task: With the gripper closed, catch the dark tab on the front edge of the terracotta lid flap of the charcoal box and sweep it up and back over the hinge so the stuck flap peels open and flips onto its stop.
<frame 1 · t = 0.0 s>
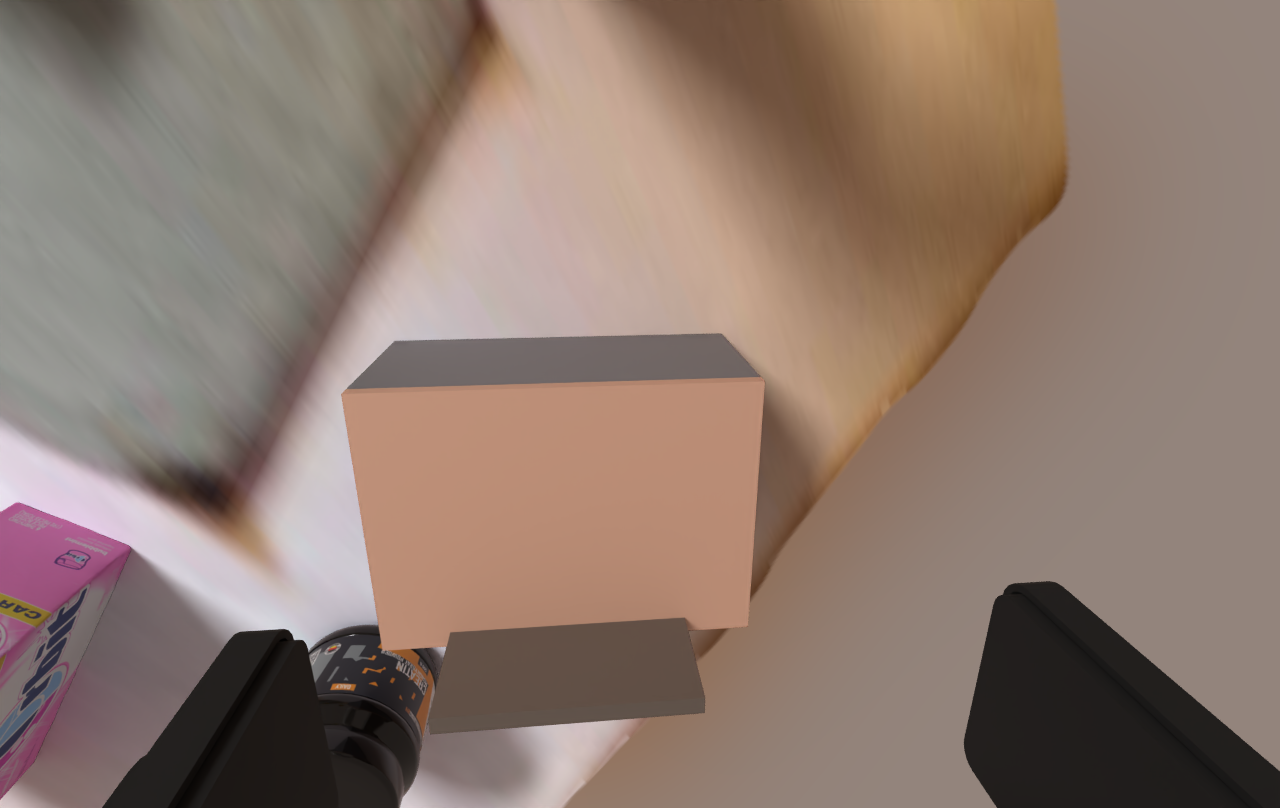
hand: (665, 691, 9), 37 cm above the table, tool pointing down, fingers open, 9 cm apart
supplement container: (373, 670, 52), on the table
carton: (566, 445, 47), on the table
gum box: (29, 638, 49), on the table
lid: (564, 549, 34), point 14 cm above the table, hinge at 0.0°
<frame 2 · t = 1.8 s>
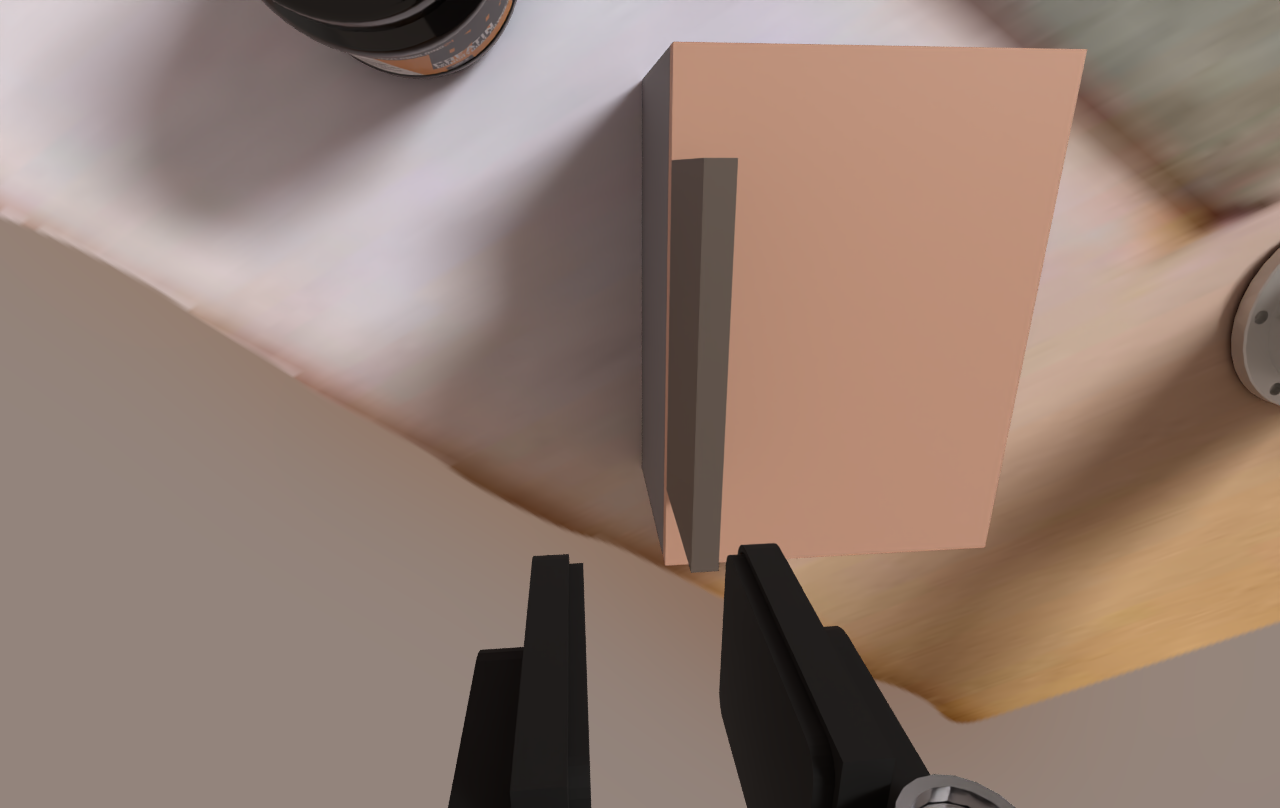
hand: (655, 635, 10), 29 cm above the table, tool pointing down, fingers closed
carton: (778, 290, 38), on the table
lid: (883, 352, 25), point 14 cm above the table, hinge at 0.0°
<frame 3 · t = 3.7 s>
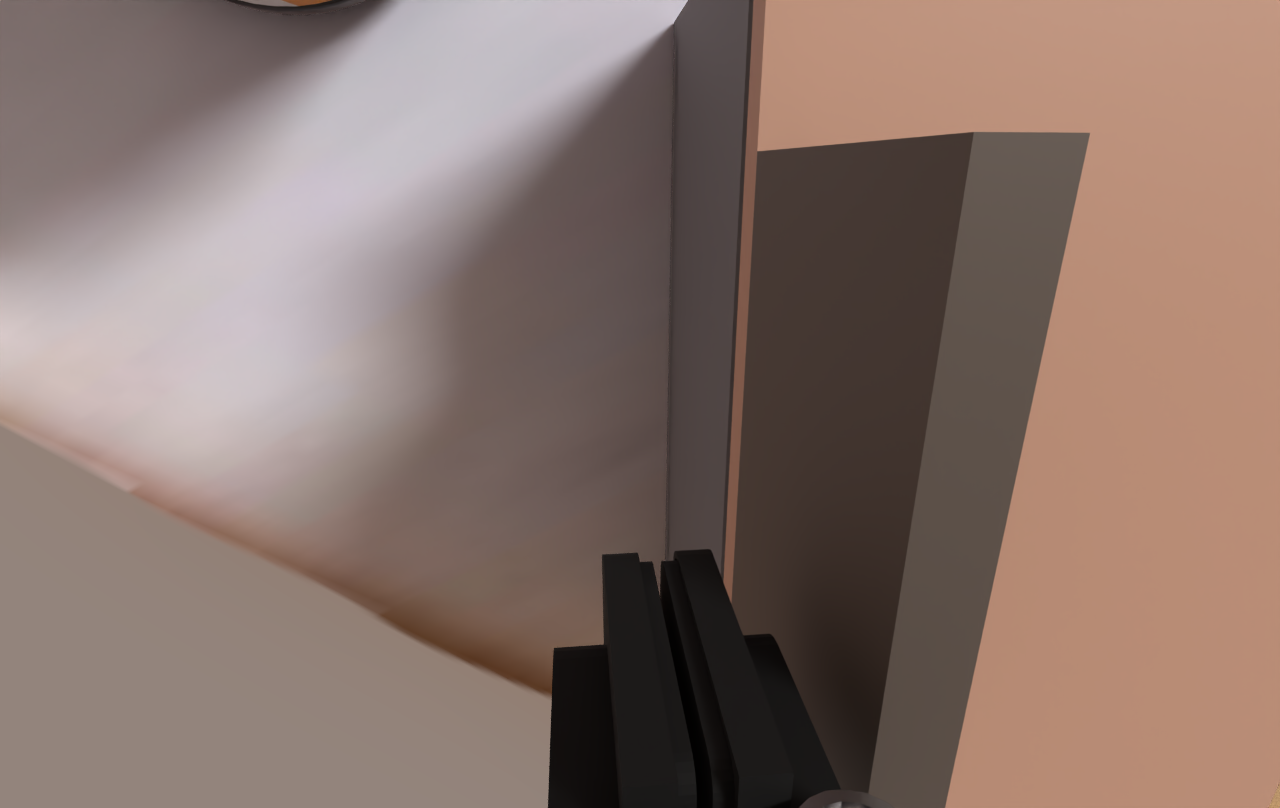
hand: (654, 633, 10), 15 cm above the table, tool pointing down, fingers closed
carton: (879, 357, 25), on the table
lid: (1211, 566, 12), point 14 cm above the table, hinge at 0.8°, touching gripper
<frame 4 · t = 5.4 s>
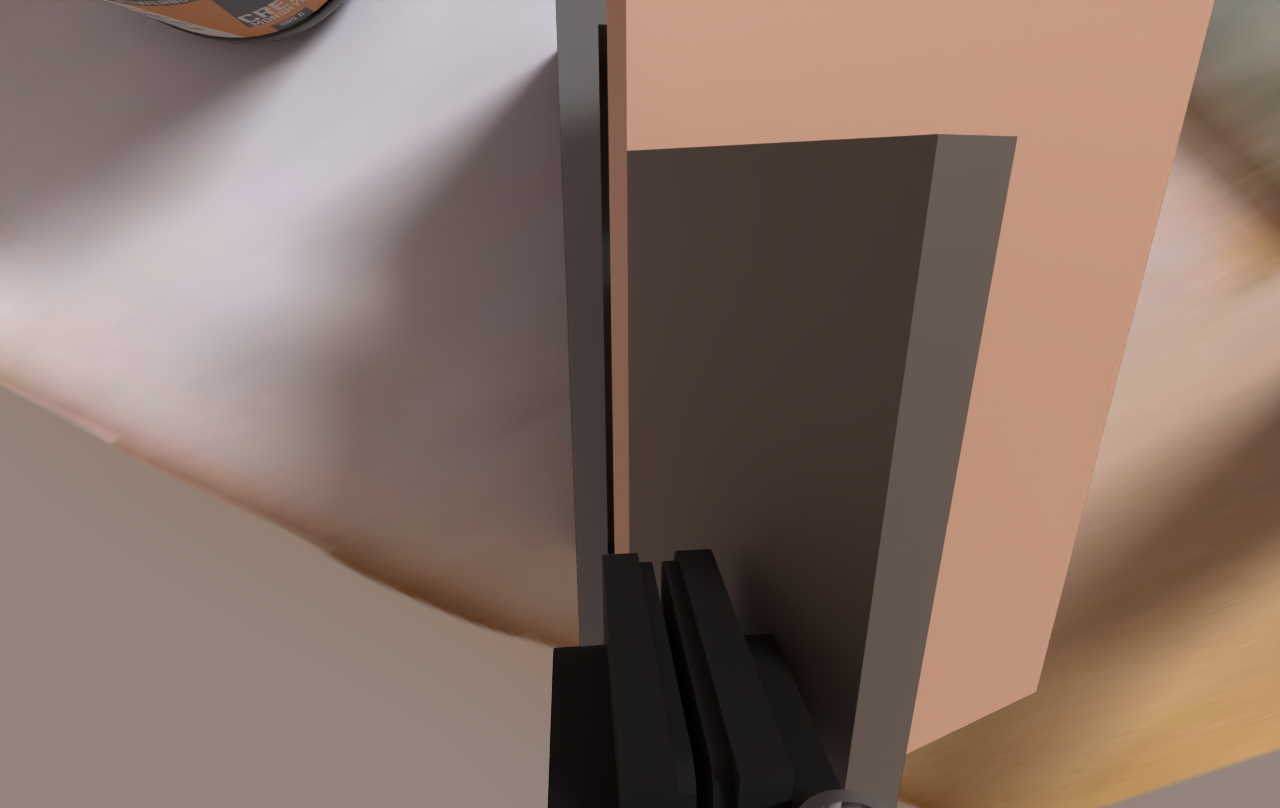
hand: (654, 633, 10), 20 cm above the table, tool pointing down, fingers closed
carton: (751, 328, 29), on the table
lid: (1018, 496, 14), point 16 cm above the table, hinge at 19.6°, touching gripper
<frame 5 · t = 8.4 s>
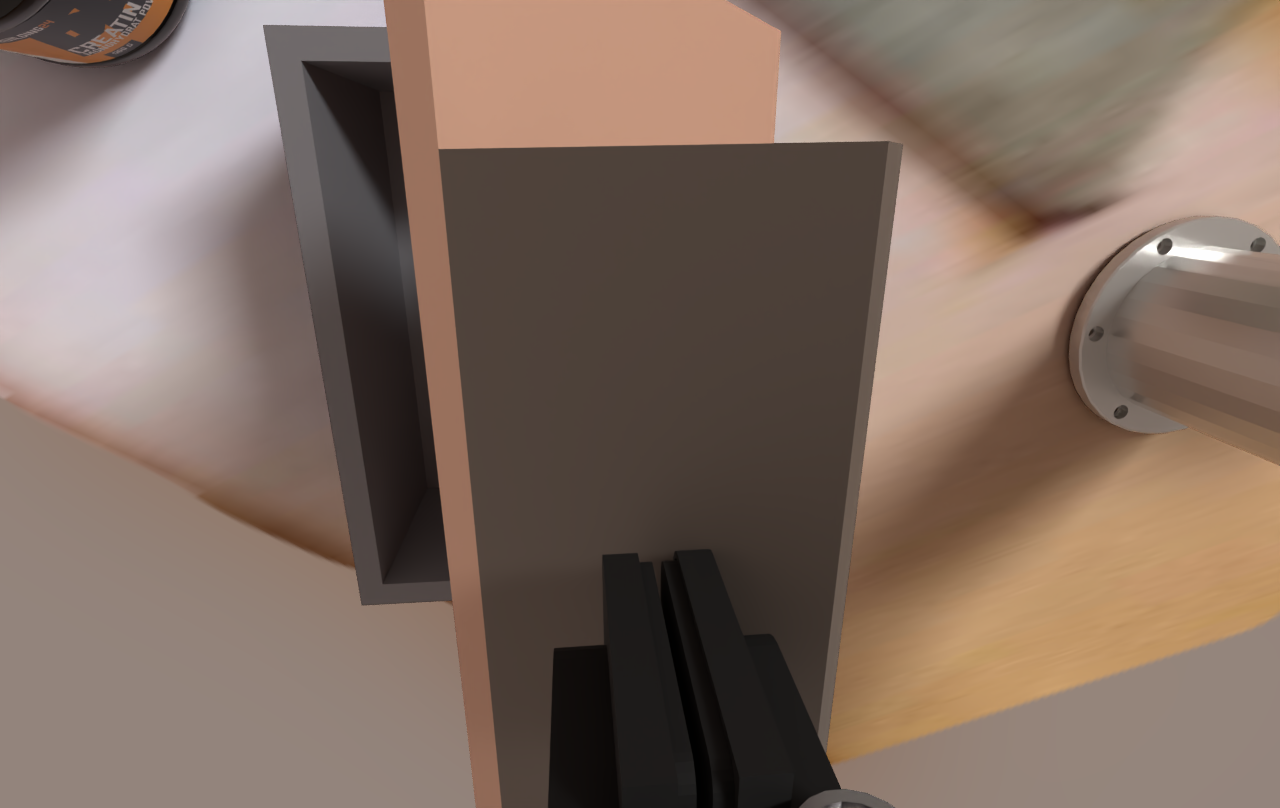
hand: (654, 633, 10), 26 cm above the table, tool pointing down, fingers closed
carton: (546, 303, 35), on the table
lid: (763, 435, 18), point 19 cm above the table, hinge at 55.9°, touching gripper
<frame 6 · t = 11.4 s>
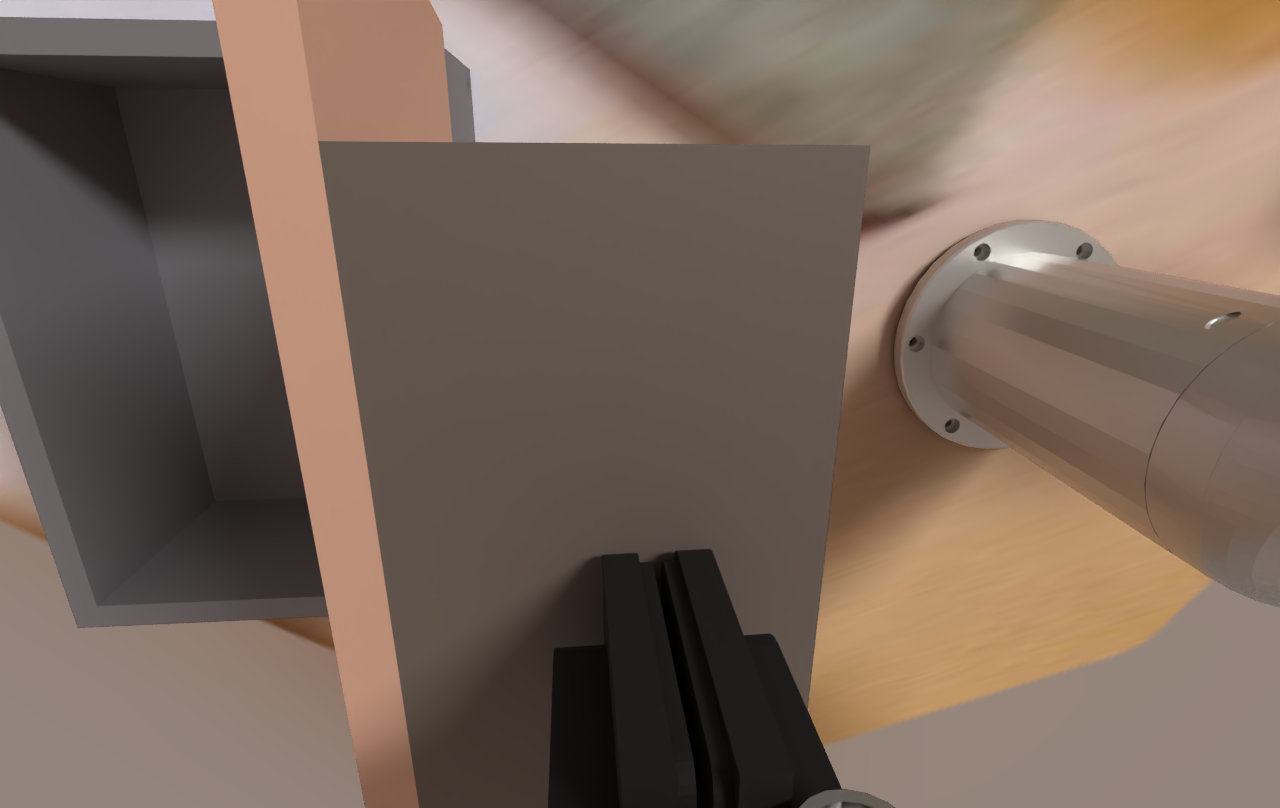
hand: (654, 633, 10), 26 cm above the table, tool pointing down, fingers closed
carton: (327, 310, 33), on the table
lid: (561, 438, 17), point 18 cm above the table, hinge at 95.4°, touching gripper
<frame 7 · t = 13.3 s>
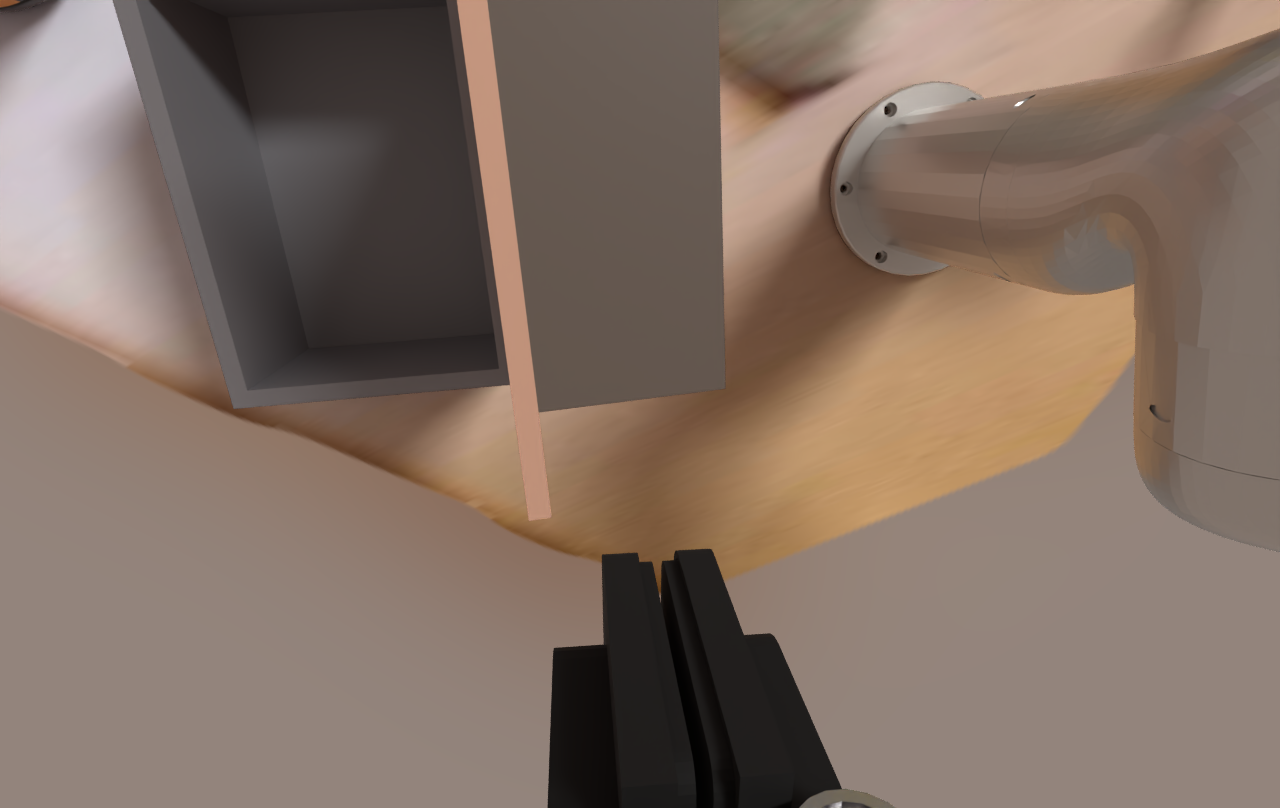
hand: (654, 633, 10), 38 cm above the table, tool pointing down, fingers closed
carton: (387, 188, 43), on the table
lid: (578, 181, 27), point 18 cm above the table, hinge at 96.0°
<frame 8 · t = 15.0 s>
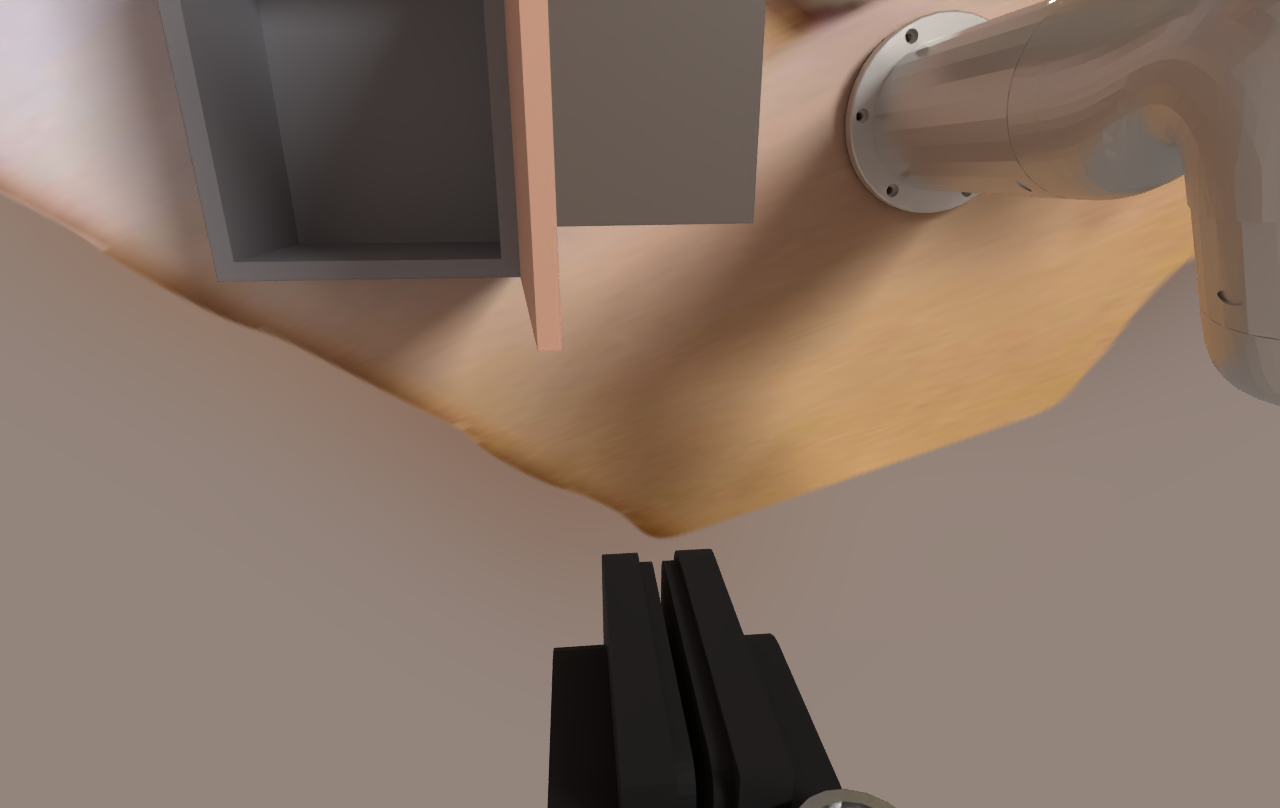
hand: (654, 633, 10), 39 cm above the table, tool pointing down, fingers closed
carton: (393, 79, 42), on the table
lid: (603, 27, 26), point 18 cm above the table, hinge at 96.0°
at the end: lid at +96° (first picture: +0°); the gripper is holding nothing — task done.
